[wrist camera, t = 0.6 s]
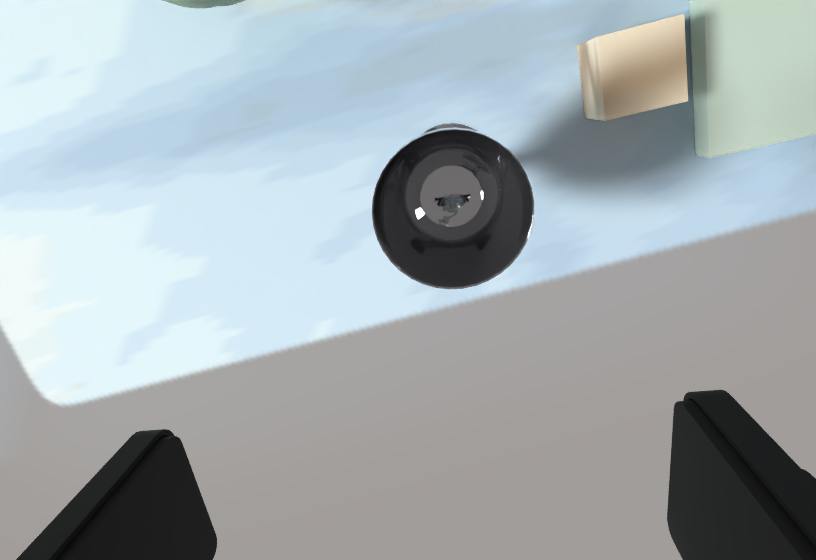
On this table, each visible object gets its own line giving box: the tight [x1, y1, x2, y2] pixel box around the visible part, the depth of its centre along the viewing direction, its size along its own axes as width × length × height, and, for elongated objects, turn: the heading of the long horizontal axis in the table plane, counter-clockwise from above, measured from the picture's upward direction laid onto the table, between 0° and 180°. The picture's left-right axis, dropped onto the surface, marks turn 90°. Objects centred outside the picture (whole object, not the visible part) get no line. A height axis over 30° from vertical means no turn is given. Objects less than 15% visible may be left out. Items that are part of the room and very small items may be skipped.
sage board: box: [689, 0, 816, 158], centre depth 32 cm, size 14×10×2 cm
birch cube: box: [577, 14, 688, 121], centre depth 32 cm, size 5×5×5 cm
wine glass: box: [372, 123, 534, 289], centre depth 30 cm, size 8×8×15 cm
